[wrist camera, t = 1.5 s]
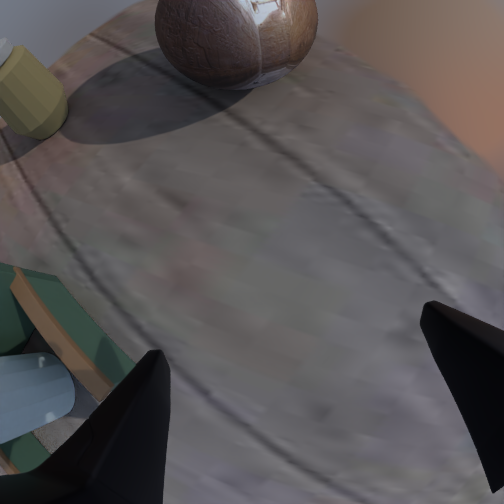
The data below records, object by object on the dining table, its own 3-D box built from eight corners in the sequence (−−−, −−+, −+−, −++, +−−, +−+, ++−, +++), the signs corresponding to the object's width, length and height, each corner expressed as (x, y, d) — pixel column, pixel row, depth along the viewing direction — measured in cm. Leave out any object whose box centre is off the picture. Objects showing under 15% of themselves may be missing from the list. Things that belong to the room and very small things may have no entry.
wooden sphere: (230, 146, 26) (209, 12, 12) (149, 74, 29) (110, -25, 14) (334, 77, 28) (365, -31, 14) (246, 21, 31) (243, -71, 16)
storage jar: (84, 414, 22) (-6, 459, 9) (39, 415, 22) (-45, 446, 9) (63, 347, 23) (-39, 358, 10) (21, 355, 23) (-71, 363, 10)
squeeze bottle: (87, 103, 28) (15, 0, 11) (45, 157, 27) (-51, 71, 9) (57, 91, 29) (-7, 7, 12) (20, 137, 28) (-60, 65, 10)
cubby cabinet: (145, 370, 23) (85, 399, 13) (62, 475, 20) (12, 510, 10) (57, 274, 24) (-15, 255, 15) (-6, 392, 22) (-63, 403, 12)
